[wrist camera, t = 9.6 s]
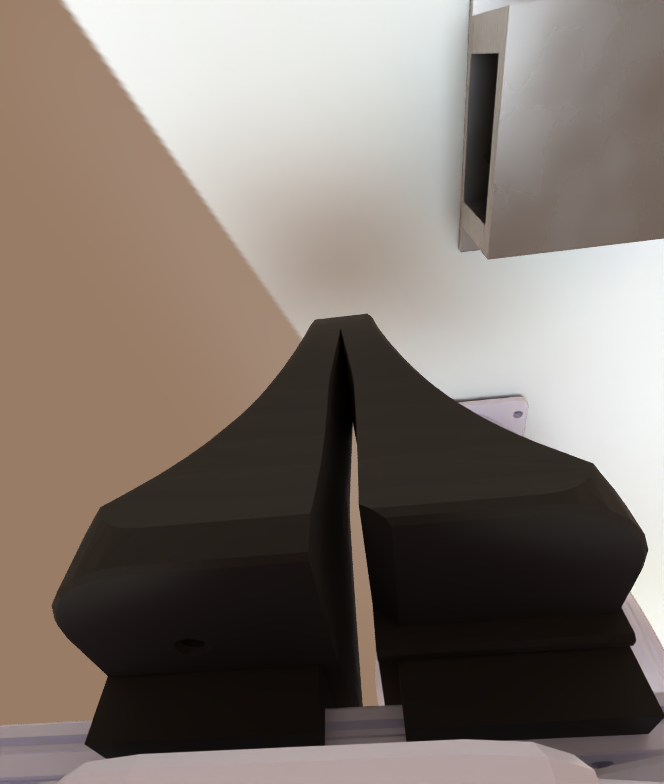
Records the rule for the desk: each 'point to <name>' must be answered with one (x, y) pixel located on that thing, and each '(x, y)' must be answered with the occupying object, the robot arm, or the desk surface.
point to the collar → (563, 125)
